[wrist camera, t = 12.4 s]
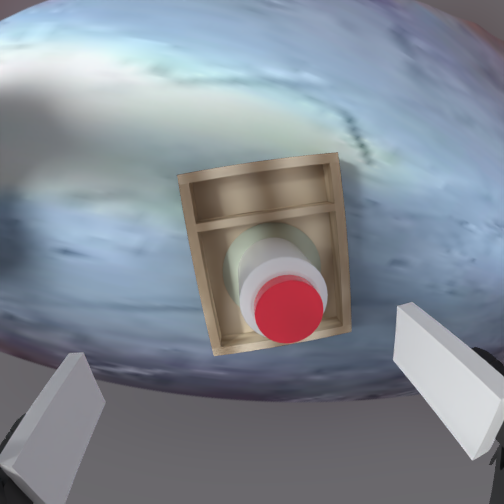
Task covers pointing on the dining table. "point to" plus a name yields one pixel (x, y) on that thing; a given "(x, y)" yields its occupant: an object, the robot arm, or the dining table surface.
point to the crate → (261, 227)
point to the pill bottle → (280, 291)
